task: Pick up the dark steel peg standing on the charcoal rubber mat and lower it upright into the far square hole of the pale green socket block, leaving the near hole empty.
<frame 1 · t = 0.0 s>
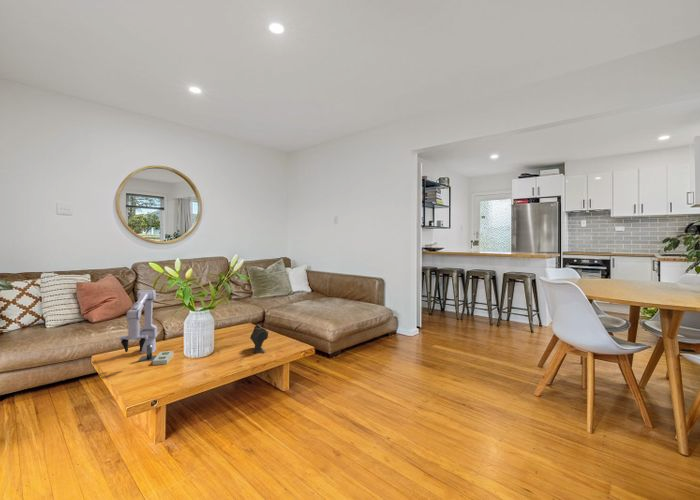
hand: (133, 351, 202), 10 cm above the table, fingers open, 7 cm apart
rubber mat: (148, 359, 216), on the table
steel peg: (149, 358, 216), resting on rubber mat
dark grey faceted sculpture: (259, 349, 241), on the table
socket block: (163, 360, 215), on the table
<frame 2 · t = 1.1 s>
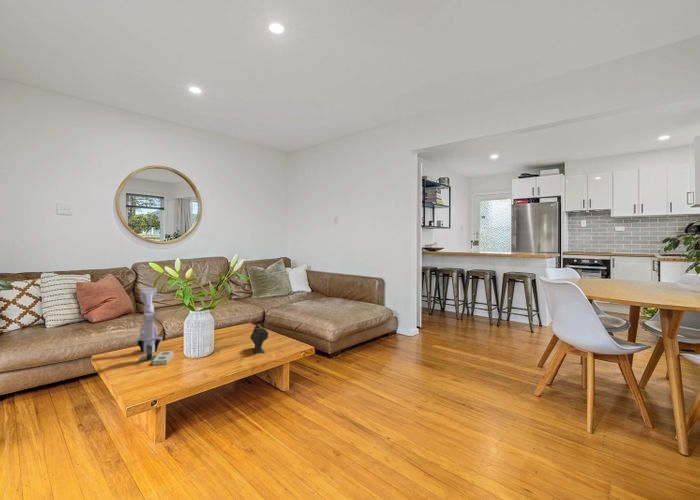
hand: (149, 351, 215), 5 cm above the table, fingers open, 7 cm apart
nothing on the table moved.
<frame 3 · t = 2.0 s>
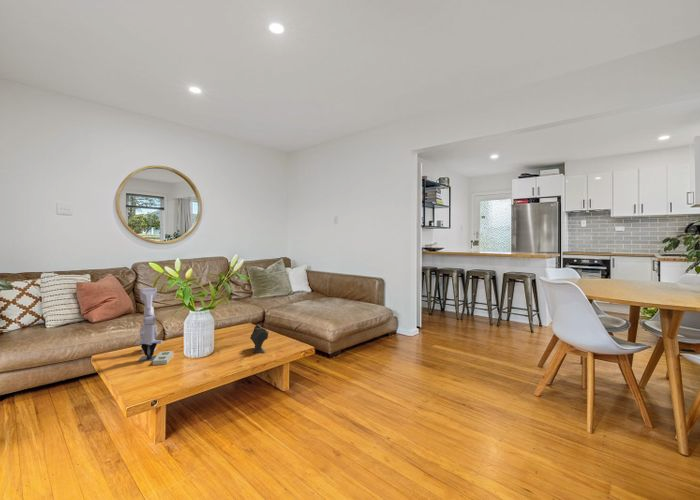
hand: (149, 355, 215), 3 cm above the table, fingers closed on steel peg, 3 cm apart
steel peg: (149, 358, 216), resting on rubber mat, touching gripper
everything else where it was.
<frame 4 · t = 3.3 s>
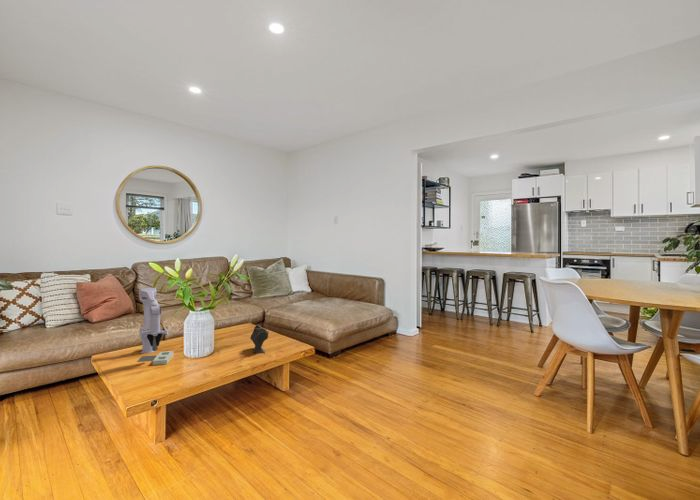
hand: (154, 345, 213), 10 cm above the table, fingers closed on steel peg, 3 cm apart
steel peg: (154, 349, 213), point 7 cm above the table, touching gripper
everything else where it was.
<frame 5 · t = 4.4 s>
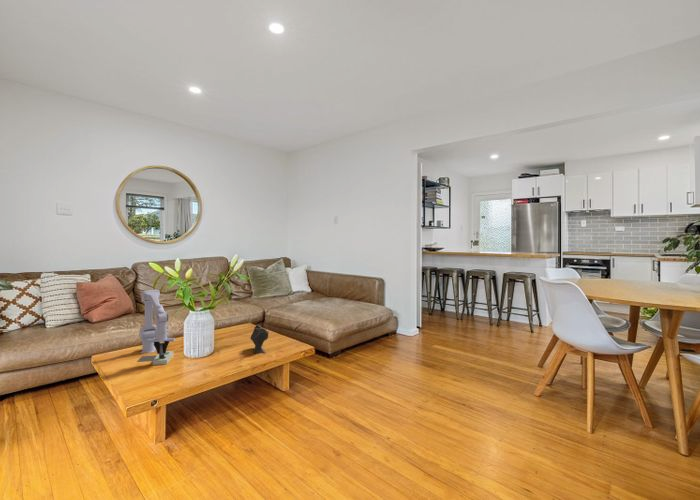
hand: (161, 353, 211), 6 cm above the table, fingers closed on steel peg, 3 cm apart
steel peg: (161, 357, 211), point 3 cm above the table, touching gripper
everything else where it was.
when the fingers open (4 cm above the table, at t = 5.1 s): steel peg drops 1 cm, resting in socket block.
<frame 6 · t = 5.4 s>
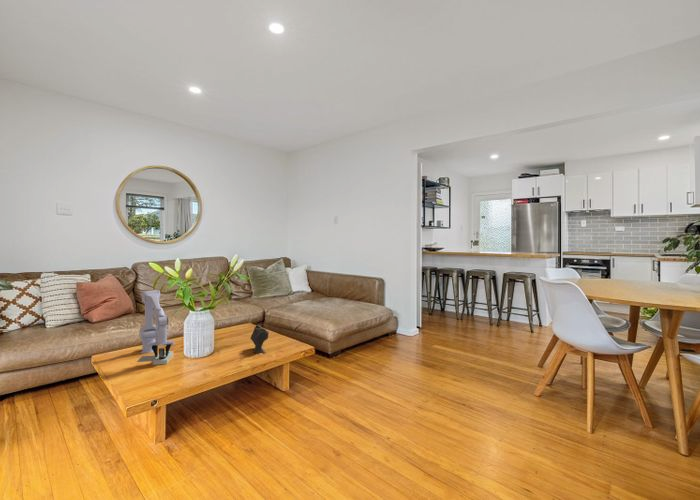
hand: (161, 356, 211), 4 cm above the table, fingers open, 5 cm apart
steel peg: (161, 362, 211), resting in socket block
everything else where it was.
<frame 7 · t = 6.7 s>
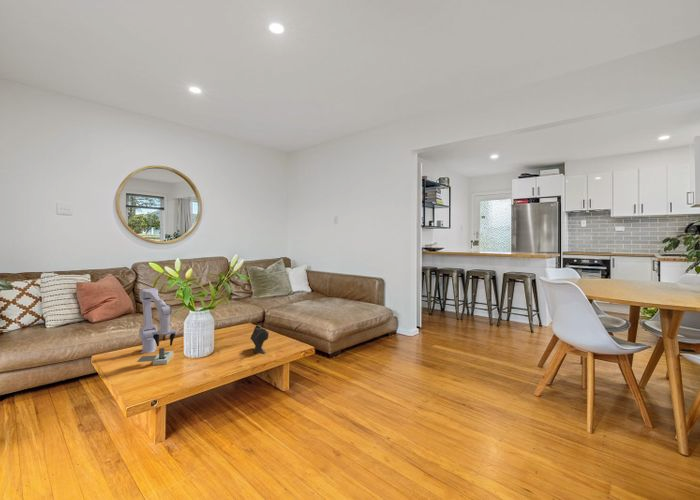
hand: (164, 345, 215), 10 cm above the table, fingers open, 7 cm apart
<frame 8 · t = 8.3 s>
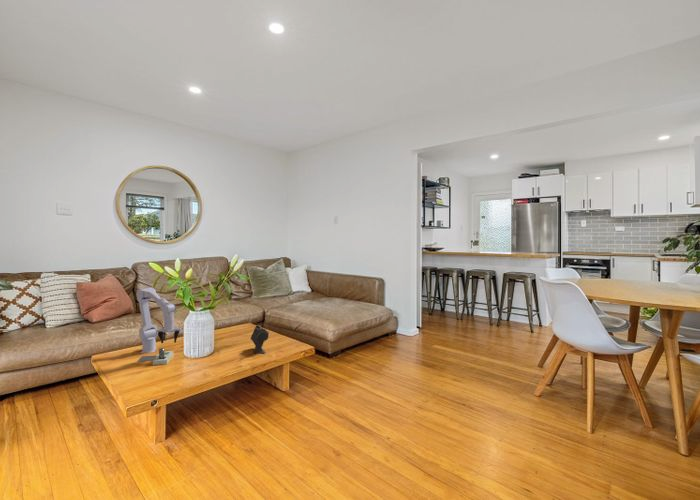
hand: (168, 342, 220), 10 cm above the table, fingers open, 7 cm apart
at the end: steel peg 0.0 cm from the target spot on the socket block, point 0.0 cm above the socket block's base; steel peg tilted 0°; the gripper is holding nothing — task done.
